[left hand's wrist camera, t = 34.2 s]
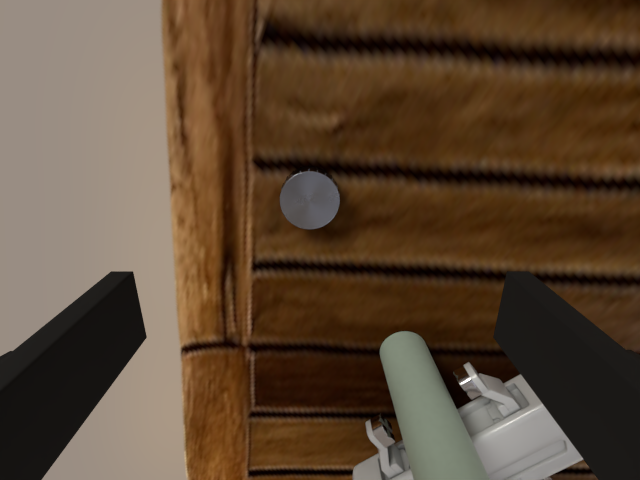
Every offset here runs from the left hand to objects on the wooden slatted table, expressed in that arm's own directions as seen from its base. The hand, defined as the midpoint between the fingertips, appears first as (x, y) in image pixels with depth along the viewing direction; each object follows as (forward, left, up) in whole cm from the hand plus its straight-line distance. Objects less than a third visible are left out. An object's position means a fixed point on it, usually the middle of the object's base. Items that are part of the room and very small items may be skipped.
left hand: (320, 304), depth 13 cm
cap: (0, 0, -15) cm, 15 cm away
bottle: (-8, +15, -17) cm, 24 cm away
